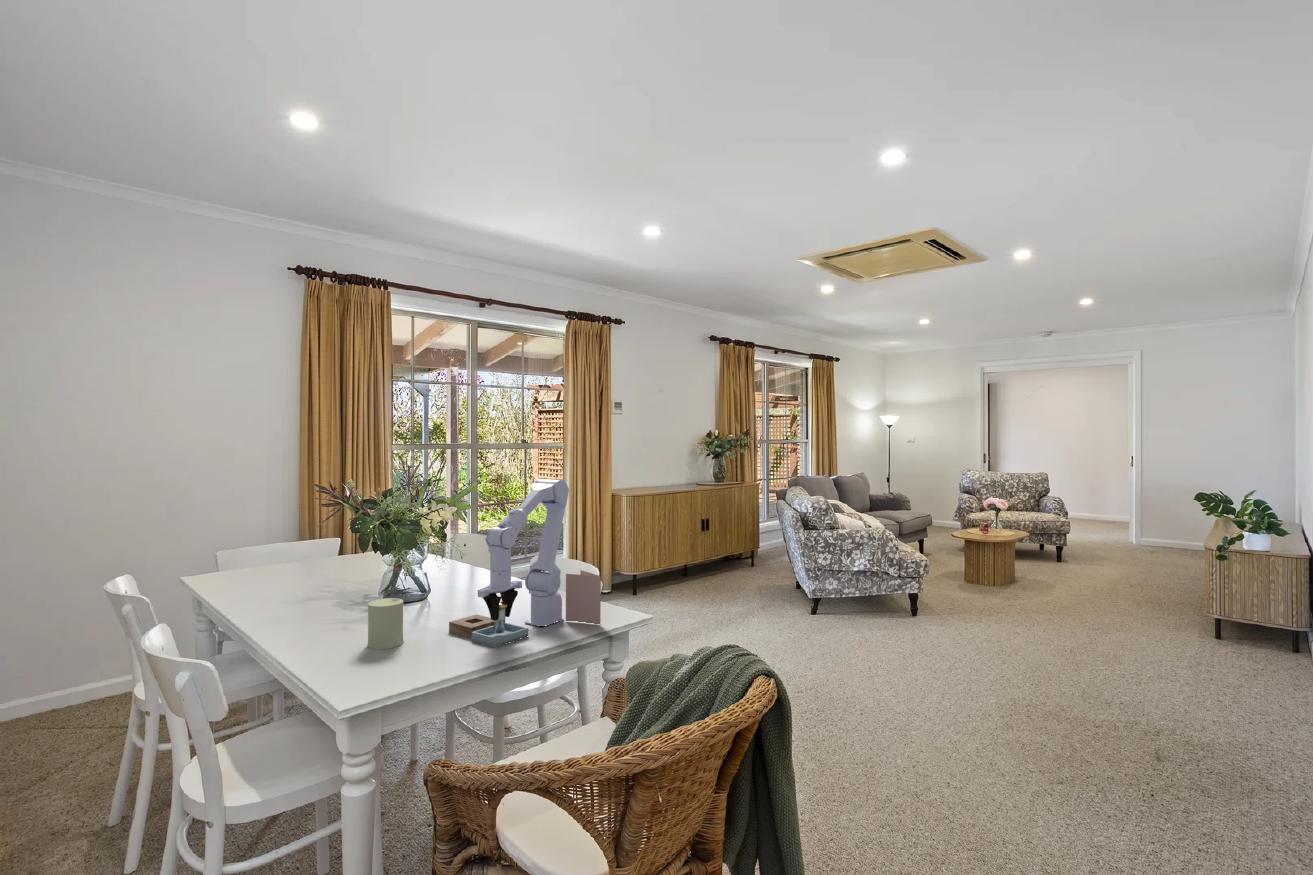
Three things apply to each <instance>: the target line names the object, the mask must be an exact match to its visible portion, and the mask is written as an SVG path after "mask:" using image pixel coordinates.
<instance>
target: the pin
mask: <svg viewBox="0 0 1313 875" xmlns="http://www.w3.org/2000/svg"><path fill="white" fill-rule="evenodd" d="M507 605H508V603H506V602H502V601H500V604H499V613H498V620H496V621H495V620H494V625H493V632H494V633H497V634H501V633H504V632H505V622H506V618H507V617H506V608H507Z"/></svg>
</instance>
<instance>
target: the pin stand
mask: <svg viewBox="0 0 1313 875" xmlns="http://www.w3.org/2000/svg"><path fill="white" fill-rule="evenodd" d="M493 625H494V620H491V617H489V616H485V615H481V614H477V613H476V614H473V615H469V616H467V617H462V618H458V619H455V620H451V621H449V622H448V632H449V633H451V634H453V635H454V634H455V635H458V636H462V637H463V638H464V637H466V638H469V639H472V632H474V631H477V630H480V629H484V628H487V627H491V626H493Z"/></svg>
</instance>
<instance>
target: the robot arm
mask: <svg viewBox="0 0 1313 875" xmlns="http://www.w3.org/2000/svg"><path fill="white" fill-rule="evenodd" d="M569 492H570V488H569V486H568V484H567V482H566V480H564V479H545V478H544V479H543V478H537V479H536V480H535V481H534V482H533V483H532V484H531V486H530V492H529V493H528V494H527V496H526V497H525V498H524V500H523V501H522V503H521V504H520V505H519V507H518V508H513V509H510V510H509V511H508V514H507V515H506V516H505V517H504V518H503V519H502V520H501V521H500V522H499V523H498V525H497V526H493V527H492V528H490V529H489V531H488V532H487V533H486V537H485V540H484V541H485V543H486V545H487V547H488V553H489V556H490V557H489V558H490V559H489V563H490V564H489V566H490V567H489V568H490V569H489V572H490V573H489V576H490V577H489V578H490V579H489V584H488V585H487V586H485V587H483V588H479V589H477V597H478V598H482V599H483V600H484V602H485V604H486V606H487V608H488V612H489V616H490V617H489V618H491V620H495V621H496V620H498V613H499V604H500V602H506V603H508V605H507V608H506V617H505V618H509V617H510V616H511V612H512V609H513V605H514V602H515V601H516V598H517V596H518V595H519V590H517V589H522V588H523V581H521V580H513V581H512V547H514V546H515V544H516V542H517V537H518V535H519V532H520V531H521V530H522V529H523V528H524V526H525V525H526V524H527V523H528V516H529V515H530V514H531V513H532V512H533V511H534V510H535V509H536V508H537V507H538V506H539V505H540V504H541V505H542V507H545V509H546V516H545V521H544V525H543V531H542V537H541V541H540V546H539V551H538V556H537V560H536V561H535V562H533V563H532V564H531V565H530V566H529V569H528V573H527V574H526V576H525V578H524V579H525V580H524V585H525V588H526V590H528V594H530V619H528V620H525V621H524V624H527V625H532V626H535V625H538V626H537V627H539V626H545V625H548V626H551V625H553V624H552V623H554V622H556V621H560V622H563V621H564V620H565V619H564V618H563V599H562V595H561V594H560V593H559V592H558V591H559V590H560V587H561V583H562V582H561V572H562V570H561V569H560V568H559V567H558V565H557V564H556V557H557V553H558V552H557V551H558V549H559V548H558V547H559V542H560V538H561V531H562V527H563V522H564V517H565V511H566V507H567V505H568V504H567V502H568V498H569ZM498 594H500V596H499V595H498ZM562 620H563V621H562ZM550 624H551V625H550ZM554 624H555V623H554ZM545 627H546V626H545Z"/></svg>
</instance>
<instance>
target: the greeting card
mask: <svg viewBox="0 0 1313 875" xmlns="http://www.w3.org/2000/svg"><path fill="white" fill-rule="evenodd" d="M579 571H580V574H573V573H565V622H566V621H578V622H586V623H594V624H600V625H601V608H602V607H601V605H602V604H601V599H602V598H601V595H602V594H601V586H602V584H601V582H602V580H601V575H598V574H594V573H592V572H589V571H586V570H582V569H580V570H579Z"/></svg>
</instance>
